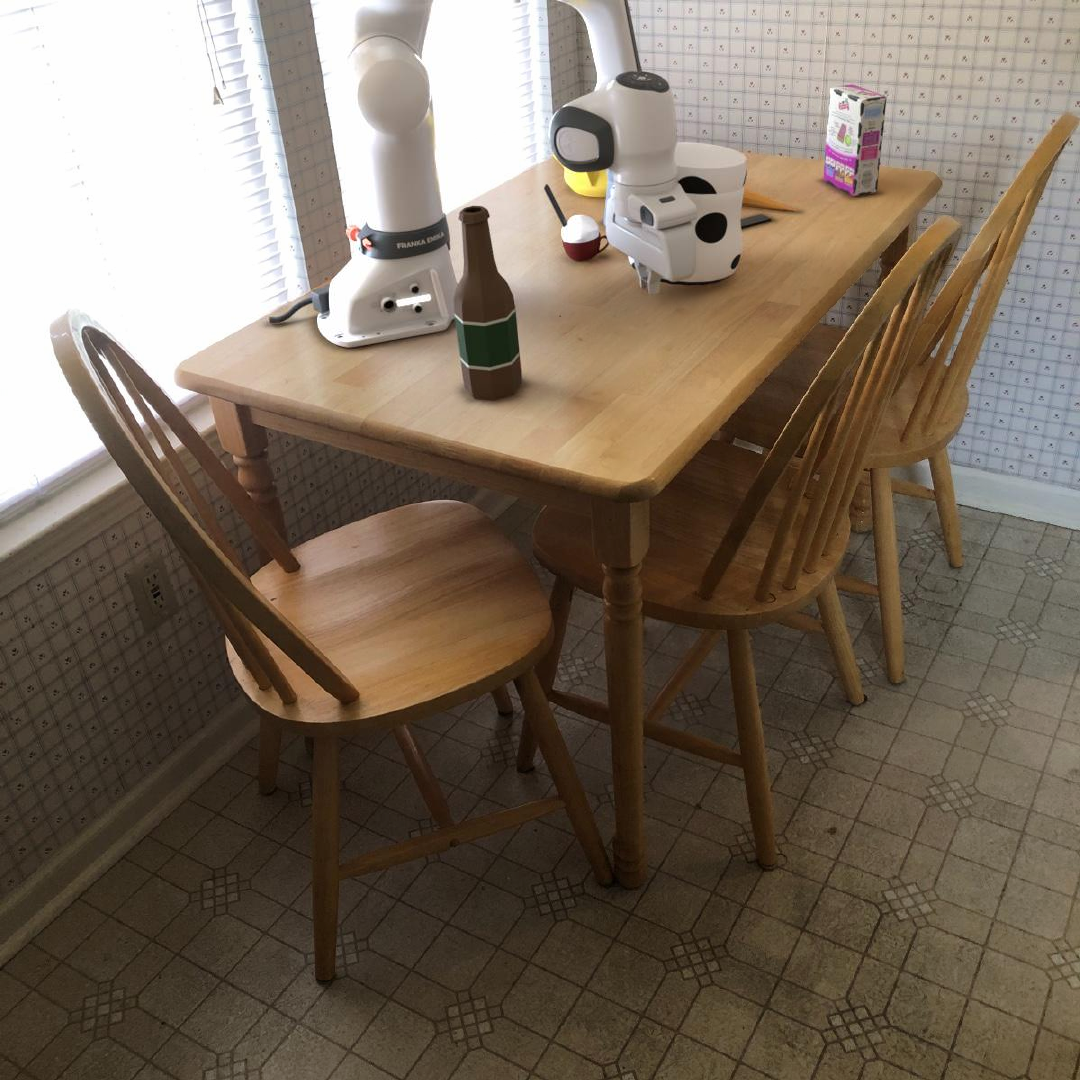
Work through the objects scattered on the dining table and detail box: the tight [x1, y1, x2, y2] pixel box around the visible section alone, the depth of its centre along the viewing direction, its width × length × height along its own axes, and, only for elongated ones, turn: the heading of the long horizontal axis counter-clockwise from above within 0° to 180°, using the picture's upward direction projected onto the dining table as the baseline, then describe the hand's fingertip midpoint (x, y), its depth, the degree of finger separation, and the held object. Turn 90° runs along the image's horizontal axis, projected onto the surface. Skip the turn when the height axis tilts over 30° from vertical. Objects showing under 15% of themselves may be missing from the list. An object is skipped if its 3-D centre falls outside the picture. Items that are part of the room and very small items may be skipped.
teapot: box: [552, 152, 608, 198], centre depth 209 cm, size 17×17×12 cm
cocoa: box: [543, 183, 610, 262], centre depth 180 cm, size 10×6×12 cm, turn 55°
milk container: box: [627, 141, 748, 287], centre depth 167 cm, size 17×17×18 cm
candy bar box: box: [822, 84, 888, 197], centre depth 196 cm, size 11×5×16 cm, turn 17°
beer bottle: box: [454, 205, 523, 402], centre depth 141 cm, size 8×8×24 cm
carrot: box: [742, 187, 798, 212], centre depth 197 cm, size 20×4×4 cm, turn 53°
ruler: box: [740, 213, 772, 230], centre depth 187 cm, size 26×3×1 cm, turn 116°
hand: (649, 290), depth 164 cm, fingers closed
